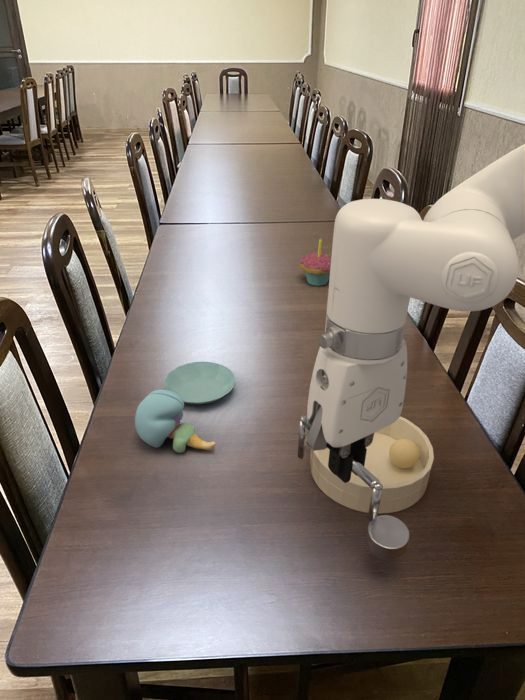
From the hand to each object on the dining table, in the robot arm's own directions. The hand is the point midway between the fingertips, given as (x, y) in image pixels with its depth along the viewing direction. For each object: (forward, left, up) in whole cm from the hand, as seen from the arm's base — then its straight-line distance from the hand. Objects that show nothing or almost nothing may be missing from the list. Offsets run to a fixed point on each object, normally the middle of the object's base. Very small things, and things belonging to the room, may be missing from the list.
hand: (345, 470), depth 62 cm
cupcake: (+59, -44, -9) cm, 75 cm away
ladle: (0, 0, -5) cm, 5 cm away
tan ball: (+3, -13, -5) cm, 14 cm away
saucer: (+34, +1, -9) cm, 36 cm away
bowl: (+5, -10, -9) cm, 15 cm away
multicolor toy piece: (+24, +10, -9) cm, 28 cm away
